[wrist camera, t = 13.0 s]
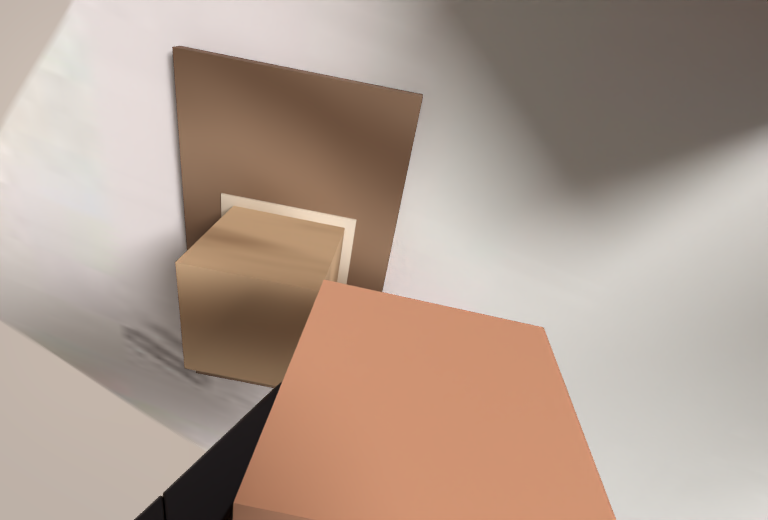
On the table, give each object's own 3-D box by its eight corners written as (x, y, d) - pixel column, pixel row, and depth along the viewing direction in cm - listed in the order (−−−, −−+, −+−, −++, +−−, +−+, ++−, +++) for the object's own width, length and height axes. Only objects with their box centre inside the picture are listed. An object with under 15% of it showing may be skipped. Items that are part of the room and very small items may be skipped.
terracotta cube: (475, 463, 12) (502, 717, 8) (301, 426, 12) (227, 661, 7) (543, 327, 9) (641, 586, 5) (323, 279, 9) (233, 502, 5)
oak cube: (332, 316, 21) (307, 392, 17) (234, 296, 21) (184, 368, 17) (344, 227, 19) (320, 290, 14) (233, 205, 19) (175, 262, 14)
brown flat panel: (360, 396, 25) (358, 405, 24) (200, 365, 25) (195, 374, 24) (422, 94, 16) (422, 97, 16) (180, 46, 16) (171, 47, 16)
